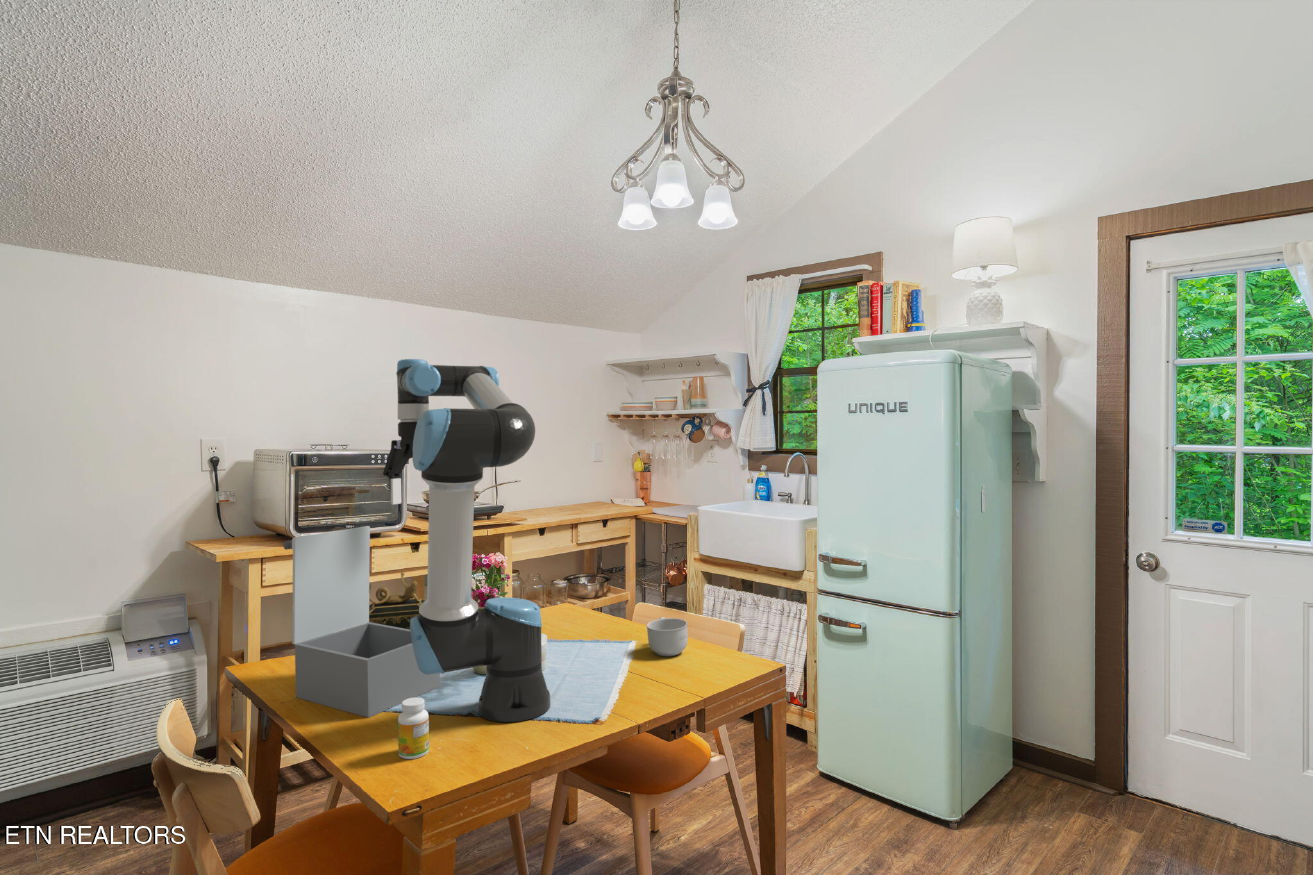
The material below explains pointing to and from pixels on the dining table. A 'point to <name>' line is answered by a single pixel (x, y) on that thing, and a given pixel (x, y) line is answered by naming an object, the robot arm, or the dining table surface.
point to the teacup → (667, 636)
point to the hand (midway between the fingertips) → (415, 505)
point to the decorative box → (395, 606)
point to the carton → (360, 669)
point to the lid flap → (329, 582)
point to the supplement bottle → (413, 729)
